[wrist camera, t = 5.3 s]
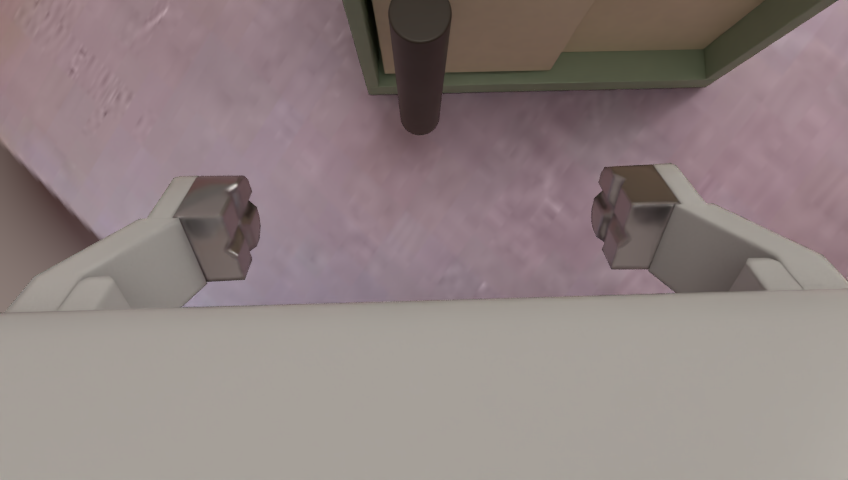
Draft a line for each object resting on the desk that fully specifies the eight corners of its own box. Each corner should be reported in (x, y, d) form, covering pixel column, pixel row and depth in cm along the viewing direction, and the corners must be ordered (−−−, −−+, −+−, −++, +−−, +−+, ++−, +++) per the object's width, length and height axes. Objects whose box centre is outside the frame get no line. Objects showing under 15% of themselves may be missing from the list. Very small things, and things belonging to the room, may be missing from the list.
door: (553, 148, 23) (745, -31, 9) (386, 152, 23) (338, -23, 9) (549, 58, 23) (729, -241, 10) (384, 62, 23) (334, -235, 10)
